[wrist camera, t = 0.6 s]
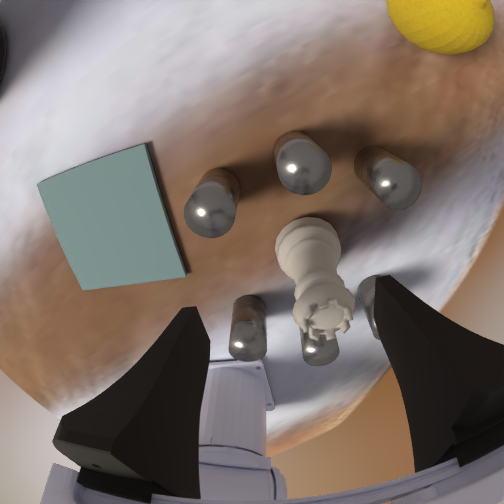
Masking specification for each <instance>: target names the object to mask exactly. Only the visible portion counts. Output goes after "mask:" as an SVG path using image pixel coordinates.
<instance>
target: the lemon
mask: <svg viewBox="0 0 504 504" xmlns="http://www.w3.org/2000/svg"><path fill="white" fill-rule="evenodd" d="M387 9H388V12H389V15H390V18H391V20H392V21H393V23H394V25H395V26H396V28H397V29H398V30H399V32H400V33H401V34H402V35H403V36H404V37H405V38H407V39H408V40H409V41H410V42H412V43H413V44H415V45H417V46H418V47H420V48H423V49H425V50H428V51H430V52H434V53H440V54H447V55H452V54H459V53H465V52H469V51H471V50H473V49H475V48H477V47H478V46H480V45H482V44H483V43H485V41H486V40H487V39H488V38H489V36H490V35H491V33H492V31H493V27H494V12H493V7H492V4H491V2H490V0H387Z"/></svg>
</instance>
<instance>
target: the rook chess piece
mask: <svg viewBox="0 0 504 504" xmlns="http://www.w3.org/2000/svg"><path fill="white" fill-rule="evenodd" d="M275 251H276V254H277V259H278V262H279V265H280V267H281V269H282V270H283V271H284V272H285V273H286V274H287V275H288V276H289V277H290V278H292V279H293V280H294V281H295V283H296V288H295V293H294V296H295V299H296V302H295V304H294V308H293V313H292V314H293V317H294V320H295V323H297V324H298V325H299V326H300V327H301V328H302V329H303V331H304V333H305V332H309V337H310V338H311V339H314V340H317V341H318V339H319V338H320V335H319V334H326V339H327V341H328V340H332V339H335V338H336V335H335V332H336V331H337V330H339V329H340V330H341V332H343V333H345V332H346V331H347V330H348V329H349V328H350V324H349V320H353V316H352V315H353V312H354V310H355V307H356V305H355V298H354V296H353V295H352V293H351V292H350V291H349V290H348V289H347V288H345V286H344V281H343V280H342V279H341V277H340V276H339V275H338V274H337V271H336V268H337V265H338V264H339V260H340V256H341V246H340V241H339V239H338V235H337V232H336V231H335V230H334V228H333V227H332V226H331V224H329V223H328V222H326V221H324V220H322V219H320V218H313V217H304V218H301V219H297V220H294V221H292V222H291V223H289V224H288V225H287V226H285V227H284V228H283V229H282V231H281V232H280V234H279V236H278V237H277V239H276V247H275Z"/></svg>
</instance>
